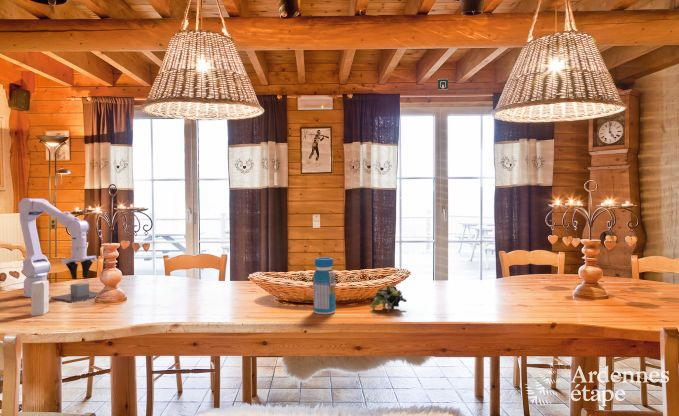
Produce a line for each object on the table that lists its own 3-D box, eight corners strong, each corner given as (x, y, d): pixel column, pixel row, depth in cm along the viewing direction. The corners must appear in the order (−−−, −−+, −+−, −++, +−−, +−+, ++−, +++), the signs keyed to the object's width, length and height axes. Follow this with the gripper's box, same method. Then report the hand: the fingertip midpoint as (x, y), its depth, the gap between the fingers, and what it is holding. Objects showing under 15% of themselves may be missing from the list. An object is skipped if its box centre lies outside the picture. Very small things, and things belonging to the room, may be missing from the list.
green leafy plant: (391, 322, 173) (409, 296, 174) (389, 324, 163) (409, 297, 163) (367, 304, 176) (385, 279, 176) (364, 305, 165) (383, 278, 166)
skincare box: (36, 312, 173) (35, 280, 173) (49, 311, 174) (49, 280, 174) (30, 316, 167) (30, 283, 167) (44, 315, 168) (44, 282, 168)
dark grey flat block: (51, 298, 198) (50, 289, 198) (87, 292, 212) (86, 283, 211) (72, 302, 190) (72, 292, 190) (108, 295, 204) (107, 286, 204)
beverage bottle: (315, 315, 163) (315, 260, 163) (311, 310, 171) (310, 257, 171) (338, 313, 165) (337, 259, 165) (332, 308, 173) (332, 256, 173)
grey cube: (70, 296, 200) (70, 284, 199) (82, 293, 204) (82, 282, 204) (77, 297, 197) (77, 285, 197) (89, 294, 202) (89, 283, 201)
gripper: (67, 249, 192) (68, 281, 192) (100, 246, 205) (100, 276, 205) (58, 248, 196) (58, 280, 196) (90, 245, 208) (91, 275, 208)
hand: (79, 278), depth 200 cm, fingers open, 4 cm apart
